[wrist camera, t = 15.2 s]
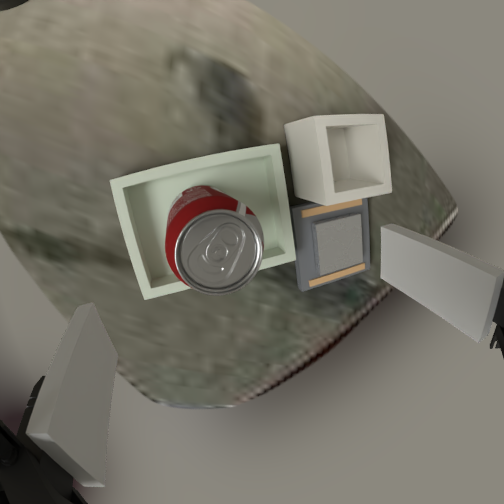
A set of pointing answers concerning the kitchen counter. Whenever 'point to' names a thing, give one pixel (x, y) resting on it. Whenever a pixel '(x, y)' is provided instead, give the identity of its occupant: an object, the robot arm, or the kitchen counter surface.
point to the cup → (339, 157)
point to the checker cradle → (304, 240)
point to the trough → (194, 174)
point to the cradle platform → (337, 243)
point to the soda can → (213, 241)
